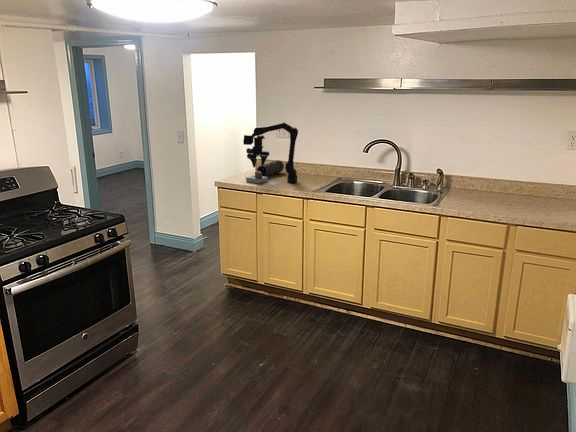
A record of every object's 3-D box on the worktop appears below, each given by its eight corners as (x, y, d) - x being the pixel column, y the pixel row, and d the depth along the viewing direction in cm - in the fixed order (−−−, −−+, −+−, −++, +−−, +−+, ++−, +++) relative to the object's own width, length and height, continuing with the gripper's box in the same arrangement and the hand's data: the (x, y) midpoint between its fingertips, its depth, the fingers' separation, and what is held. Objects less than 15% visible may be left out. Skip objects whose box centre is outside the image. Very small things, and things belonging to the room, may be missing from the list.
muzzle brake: (256, 178, 361) (256, 164, 358) (275, 172, 384) (274, 159, 382) (267, 179, 356) (267, 165, 354) (285, 173, 380) (285, 160, 377)
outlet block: (267, 182, 345) (267, 177, 344) (259, 184, 337) (259, 179, 336) (255, 180, 352) (254, 175, 351) (246, 182, 344) (246, 177, 343)
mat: (280, 183, 341) (280, 182, 341) (273, 185, 334) (273, 185, 334) (270, 182, 346) (270, 181, 346) (263, 184, 339) (263, 183, 339)
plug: (262, 181, 343) (262, 172, 341) (259, 182, 341) (259, 172, 339) (257, 180, 346) (257, 171, 344) (255, 181, 343) (255, 171, 342)
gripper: (257, 142, 348) (257, 163, 352) (240, 145, 333) (241, 167, 337) (269, 143, 341) (269, 165, 346) (253, 146, 327) (253, 169, 331)
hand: (258, 166), depth 340 cm, fingers open, 9 cm apart
